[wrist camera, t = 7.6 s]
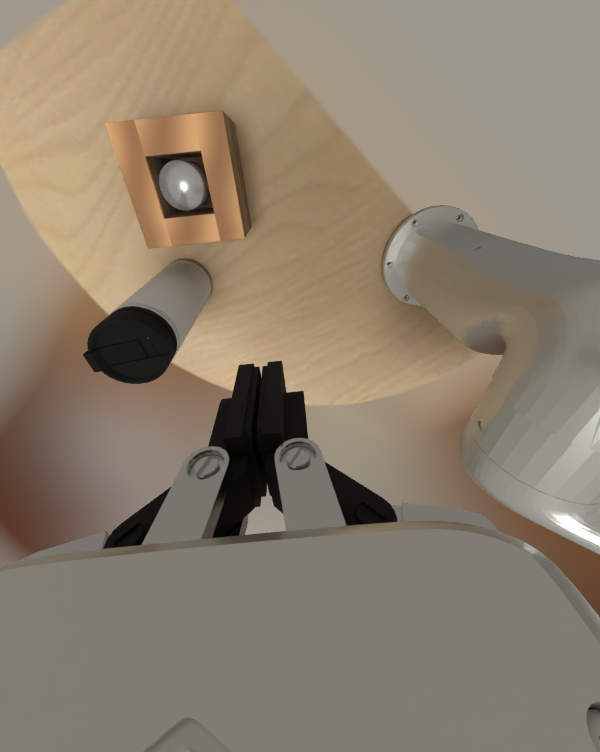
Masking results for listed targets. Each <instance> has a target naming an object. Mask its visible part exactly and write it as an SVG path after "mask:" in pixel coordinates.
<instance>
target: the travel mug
mask: <svg viewBox="0 0 600 752" xmlns="http://www.w3.org/2000/svg"><path fill="white" fill-rule="evenodd" d="M211 292H212V281H211V278H210V275H209V274H208V272H207V271H206V269H205V268H204V267H203V266H201V265H200V264H199V263H197V262H195V261H193V260H189V259H179V260H176V261H174V262H172V263H171V264H169V265H168V266H167V267H166V268H165V269H163V270H162V271H161V272H160V273H159V274H157V275H156V276H155V277H154V278H153V279H151V280H150V281H149V282H148V283H146V284H145V285H144V286H143V287H142V288H140V289H139V290H138V291H137V292H136V293H134V294H133V295H132V296H131V297H130V298H128V299H127V300H126V301H125V302H123V303H122V304H121V305H120V306H119V307H117V308H116V309H115V310H114V311H113V312H112V313H111V314H110V315H109V316H108V317H107V318H105V319H104V320H103V321H102V322H101V323H100V324H98V325H97V326H96V327H95V328H94V329H93V330H92V332H91V333H90V335H89V338H88V351H86V352H85V353H84V354H83V356H84V357H85V359H86V360H87V362H88V364H89V365H90V366H91V368H92V369H93V371H94V372H99V371H102V372H103V373H104V374H106V375H107V376H109V377H111V378H113V379H115V380H117V381H121V382H124V383H131V384H141V383H147V382H150V381H153V380H155V379H157V378H159V377H160V376H161V375H162V374H163V373H164V372H165V371H166V369H167V368H168V366H169V364H170V362H171V361H172V359H173V358H174V357H175V355H176V353H177V352H178V350H179V348H180V347H181V345H182V343H183V341H184V340H185V338H186V336H187V334H188V333H189V331H190V329H191V328H192V326H193V324H194V322H195V321H196V319H197V317H198V316H199V314H200V312H201V310H202V309H203V307H204V305H205V303H206V302H207V300H208V298H209V297H210V294H211Z"/></svg>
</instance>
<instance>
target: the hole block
mask: <svg viewBox="0 0 600 752" xmlns="http://www.w3.org/2000/svg"><path fill="white" fill-rule="evenodd" d="M105 126H106V128H107V131H108V134H109V137H110V140H111V143H112V146H113V149H114V152H115V154H116V157H117V160H118V163H119V166H120V169H121V172H122V175H123V178H124V180H125V183H126V186H127V189H128V192H129V195H130V198H131V201H132V204H133V206H134V209H135V212H136V215H137V218H138V221H139V224H140V227H141V230H142V232H143V235H144V238H145V241H146V244H147V247H148V248H158V247H168V246H178V245H187V244H197V243H207V242H217V241H227V240H236V239H245V237H246V235H247V233H248V232H249V230H250V228H251V223H250V217H249V210H248V204H247V198H246V192H245V185H244V179H243V173H242V167H241V160H240V154H239V148H238V141H237V135H236V129H235V123H234V122H233V121H232V120H231V119H230V118H229V117H228V116H227V115H226V114H225V113H224V112H223V111H214V112H205V113H195V114H186V115H176V116H167V117H157V118H148V119H138V120H129V121H119V122H110V123H105ZM200 156H202V158H203V163H204V168H205V172H206V177H207V181H208V186H209V191H210V195H211V200H212V205H213V208H204V209H194V210H188V211H183V210H179V209H177V208H175V207H173V206H172V205H171V204H169V203H168V202H167V200H166V199H165V198H164V196H163V194H162V192H161V189H160V185H159V176H160V172H161V170H162V168H163V167H164V165H165V164H167V163H168V162H170V161H172V159H181V158H190V157H200Z"/></svg>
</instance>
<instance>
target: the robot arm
mask: <svg viewBox="0 0 600 752" xmlns="http://www.w3.org/2000/svg"><path fill="white" fill-rule="evenodd" d="M457 216H458V219H457ZM413 220H415V222H414V224H412V221H413ZM388 262H390V264H389V265H387V263H388ZM382 271H383V277H384V281H385V283H386V285H387V287H388V289H389V290H390V292H391V293H392V294H393V295H394V296H395V297H396V298H397V299H398V300H400V301H402V302H403V303H406V304H409V305H414V306H423V307H424V308H425V309H426V310H427V311H428V312H429V313H430V314H431V315H432V316H433V317H434V318H436V319H437V320H438V321H439V322H440V323H441V324H442V325H443V326H444V327H445V328H446V329H447V330H448V331H449V332H450V333H451V334H452V335H453V336H454V337H455V338H456V339H458V340H459V341H460V342H461V343H462V344H464V345H465V346H466V347H468V348H470V349H472V350H474V351H477V352H481V353H485V354H492V355H503V357H502V359H501V361H500V364H499V365H498V367H497V369H496V371H495V373H494V374H493V377H492V381H491V382H490V384H489V386H488V387H487V389H486V391H485V393H484V395H483V396H482V398H481V400H480V402H479V403H478V405H477V407H476V409H475V411H474V412H473V414H472V416H471V418H470V419H469V421H468V423H467V425H466V427H465V429H464V431H463V434H462V437H461V441H460V457H461V460H462V463H463V465H464V467H465V469H466V471H467V472H468V473H469V475H470V476H471V478H472V479H473V480H474V481H475V482H476V483H477V484H478V485H479V486H480V487H481V488H482V489H483V490H484V491H485V492H487V493H488V494H489V495H490V496H492V497H493V498H495V499H496V500H498V501H499V502H500V503H502V504H503V505H505V506H507V507H508V508H510V509H511V510H513V511H515V512H516V513H518V514H520V515H522V516H524V517H525V518H527V519H529V520H531V521H533V522H535V523H537V524H539V525H541V526H543V527H545V528H547V529H549V530H551V531H553V532H555V533H557V534H559V535H561V536H563V537H565V538H567V539H569V540H571V541H573V542H575V543H577V544H579V545H581V546H583V547H585V548H587V549H589V550H591V551H593V552H596V553H598V554H600V261H599V260H592V259H585V258H579V257H573V256H569V255H564V254H559V253H556V252H552V251H548V250H544V249H541V248H538V247H534V246H531V245H527V244H523V243H519V242H516V241H512V240H509V239H506V238H502V237H499V236H496V235H492V234H489V233H486V232H482V231H479V230H478V228H477V225H476V224H475V222H474V220H473V219H472V218H471V217H470V216H469V215H468V214H467V213H466V212H464V211H462V210H460V209H458V208H455V207H451V206H443V205H440V206H431V207H429V208H425V209H422V210H420V211H418V212H416V213H414V214H412V215H411V216H410V217H409V218H407V219H406V220H405V221H404V222H403V223H402V224H401V225H400V226H399V227H398V228H397V229H396V230H395V232H394V233H393V235H392V236H391V238H390V240H389V242H388V244H387V246H386V249H385V252H384V256H383V263H382ZM405 295H406V297H404V296H405ZM267 484H268V489H269V493H270V495H271V496H272V499H273V504H274V506H275V507H276V508H277V509H278V510H279V511H281V512H282V513H283V514H284V520H285V526H286V531H284V532H272V533H261V534H251V535H245V532H246V528H247V524H248V514H249V513H250V512H251V511H252V510H253V509H254V508H255V507H260V504H261V497H263V496H266V491H267ZM0 752H600V618H599V616H598V615H597V614H596V612H595V611H594V610H593V608H592V607H591V606H590V605H589V603H588V602H587V601H586V600H585V598H584V597H583V596H582V595H581V593H580V592H579V591H578V590H577V589H576V587H575V586H574V585H573V584H572V583H571V582H570V580H569V579H568V578H567V577H566V576H565V575H564V574H563V573H562V572H561V571H560V570H559V569H558V567H556V565H555V564H553V562H551V561H550V560H549V559H548V558H547V557H545V556H544V555H543V554H542V553H541V552H539V551H538V550H537V549H534V548H533V547H532V546H530V545H528V544H527V543H525V542H523V541H521V540H518V539H516V538H513V537H511V536H509V535H506V534H504V533H501V532H498V531H497V529H496V527H495V526H494V525H493V524H492V523H491V522H490V521H489V520H488V519H487V518H485V517H483V516H482V515H480V514H478V513H474V512H471V511H466V510H458V509H449V508H441V507H433V506H424V505H416V504H408V503H402V504H401V506H395V505H390V504H389V503H388V502H387V501H385V499H383V498H382V497H380V496H379V495H377V494H375V493H374V492H372V491H370V490H369V489H367V488H366V487H364V486H363V485H361V484H359V483H358V482H356V481H355V480H353V479H351V478H350V477H348V476H347V475H345V474H343V473H342V472H340V471H339V470H337V469H335V468H334V467H332V466H330V465H329V464H327V463H326V462H324V459H323V456H322V453H321V450H320V448H319V447H318V445H317V444H316V443H314V442H313V441H311V440H309V439H308V434H307V423H306V413H305V402H304V392H303V391H299V392H289V393H286V387H285V380H284V373H283V366H282V361H275V362H268V366H263V369H262V378H261V373H260V368H259V367H254V364H245V365H239V367H238V372H237V376H236V381H235V385H234V390H233V395H232V398H228V399H222V400H221V402H220V405H219V409H218V413H217V416H216V420H215V424H214V428H213V431H212V435H211V439H210V442H209V446H208V447H205V448H202V449H199V450H198V451H196V452H194V453H192V454H191V455H190V456H189V457H188V458H187V459H186V461H185V462H184V464H183V465H182V467H181V469H180V471H179V473H178V475H177V477H176V479H175V481H174V483H173V485H172V487H170V488H169V489H167V490H166V491H165V492H163V493H162V494H161V495H159V496H158V497H157V498H155V499H154V500H153V501H151V502H150V503H149V504H147V505H146V506H144V507H143V508H142V509H140V510H139V511H138V512H136V513H135V514H134V515H132V516H131V517H130V518H128V519H127V520H126V521H124V522H123V523H121V525H119V526H118V527H117V528H116V529H115V530H114V531H113V532H112V533H111V534H108V533H107V532H106V531H105V532H102V533H98V534H95V535H92V536H88V537H85V538H82V539H79V540H75V541H72V542H69V543H66V544H62V545H59V546H56V547H53V548H49V549H46V550H42V551H39V552H37V553H34V554H32V555H30V556H28V557H26V558H25V559H24V560H21V561H17V562H13V563H8V564H4V565H0Z"/></svg>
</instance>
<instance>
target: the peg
mask: <svg viewBox="0 0 600 752" xmlns="http://www.w3.org/2000/svg"><path fill="white" fill-rule="evenodd" d="M159 185H160V189H161V192H162V194H163V196H164V198H165V199H166V200H167V202H168V203H169V204H171V205H172V206H173V207H175V208H177V209H179V210H183V211H188V210H192V209H195V208H197V207H199V206H202V205H204V204H207V203H209V202H211V201H212V200H211V195H210V191H209V186H208V181H207V177H206V172H205V168H204V164H203V163H198V162H189V161H180V160H174V161H170V162H168V163H167V164H165V165H164V167H163V168H162V170H161V172H160V176H159Z"/></svg>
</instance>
